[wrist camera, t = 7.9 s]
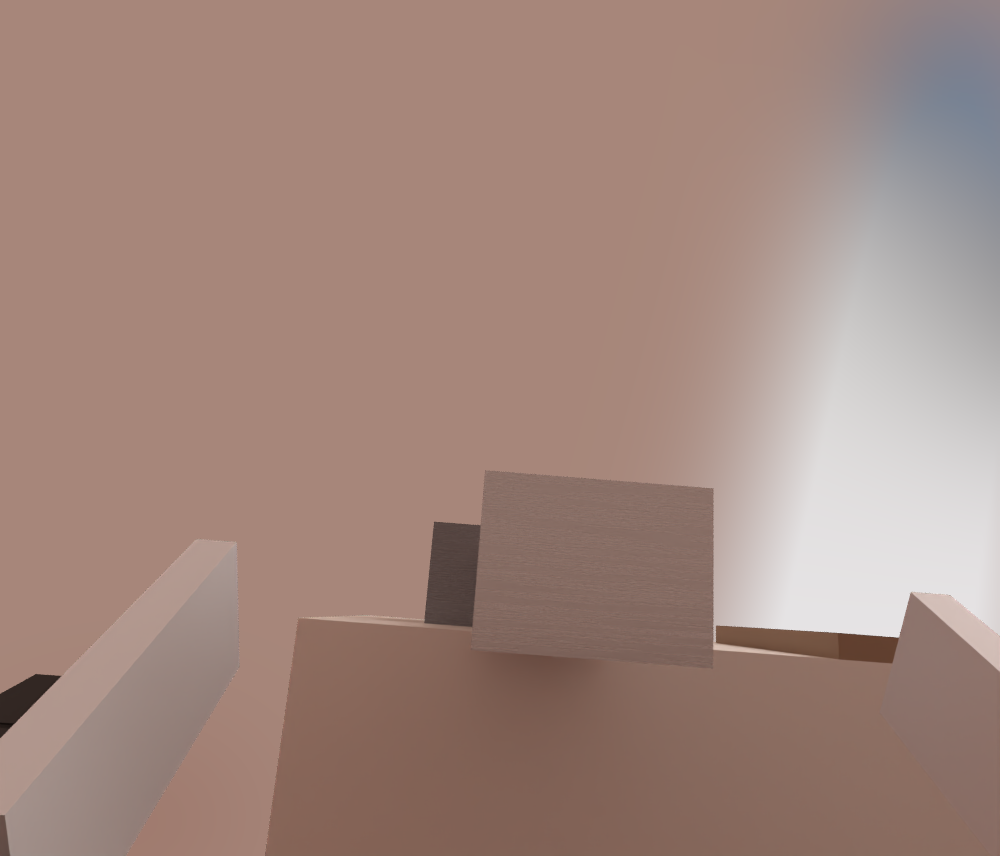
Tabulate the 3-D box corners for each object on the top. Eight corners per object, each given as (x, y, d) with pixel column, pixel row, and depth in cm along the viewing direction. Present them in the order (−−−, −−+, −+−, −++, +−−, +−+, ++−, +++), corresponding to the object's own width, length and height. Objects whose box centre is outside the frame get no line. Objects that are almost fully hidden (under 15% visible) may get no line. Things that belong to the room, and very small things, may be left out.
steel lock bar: (834, 677, 12) (824, 441, 13) (348, 640, 12) (377, 406, 13) (601, 634, 34) (604, 549, 35) (433, 621, 34) (441, 536, 35)
